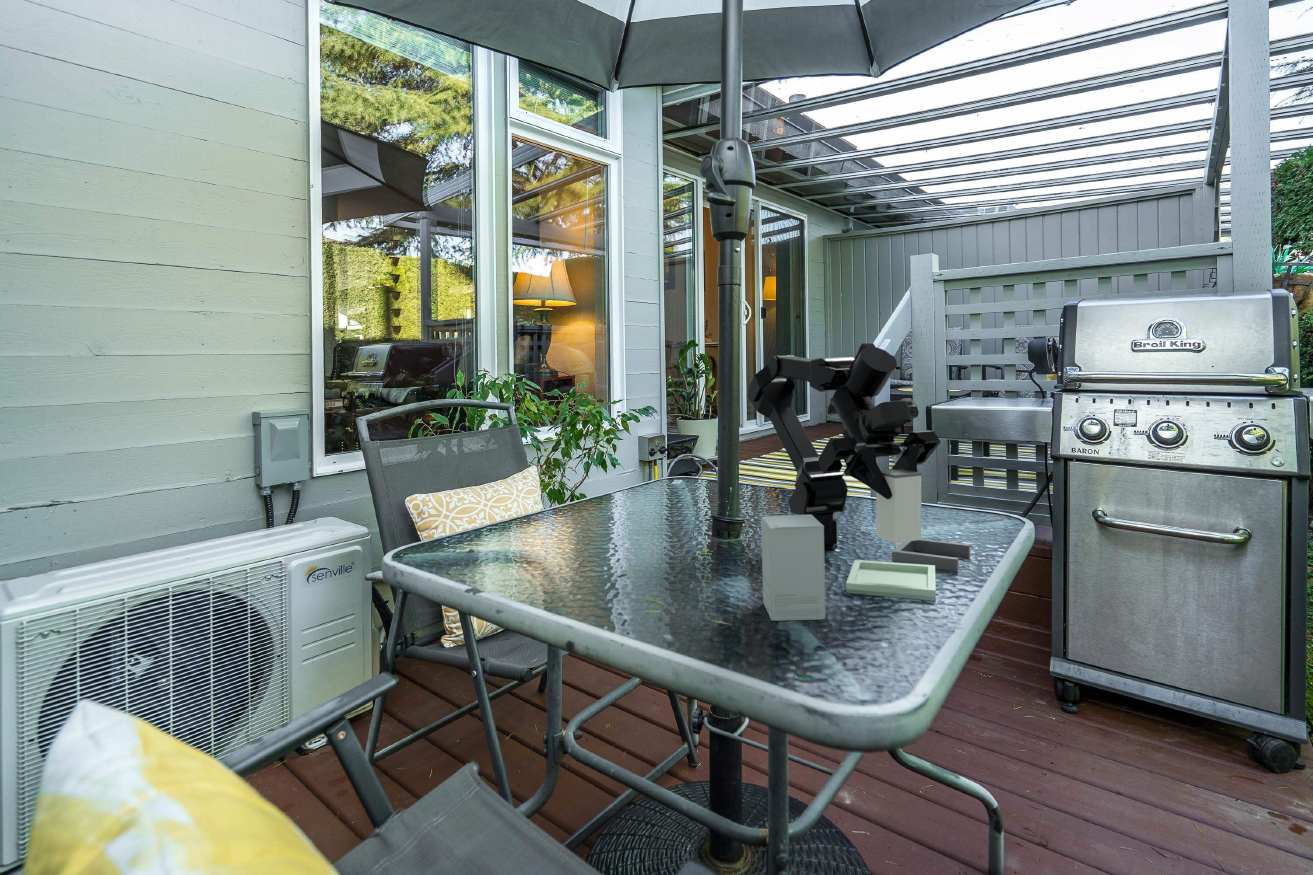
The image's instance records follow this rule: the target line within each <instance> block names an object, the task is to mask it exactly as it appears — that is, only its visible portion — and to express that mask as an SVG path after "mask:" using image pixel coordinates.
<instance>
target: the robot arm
mask: <svg viewBox="0 0 1313 875" xmlns="http://www.w3.org/2000/svg"><path fill="white" fill-rule="evenodd" d="M897 363H898V362H897V359H896V358H895V356H894V355H893V354H891V353H889V352H888V351H887V350H884V349H882V348H880V347H876V345H875V344H874V342H862V343H861V344H860V346H859V348H858V350H857V354H856V356H855V357H853V356H843V357H842V356H839V357H819V358H808V357H798V356H796V355H794V354H787V355H785V354H784V355H783V354H782V355H774V356H772V357H770V359H769V361H768V363H767V365H765V366H764V367H763V368H762V369H761V370H759V371H757V373H755V374H754V376H753V378H752V379H751V381H750V383H749V385H748V388H747V397H748V400H749V401H750V403H751V405H752V406H753V408H754V409H755V411H756V412H757V413H758V414H760V415H762V416H764V417H765V418H767V419H768V420H770V422H771V424H772V426H773V429H774V430H775V432H776V434H777V436H778V437H779V439H780V442H781V444H782V445H783V448H784V450H785V452H786V453H787V455H788V458H789V460H790V461H791V463H792V465H793V467H794V469H795V471H796V476H795V481H794V488H795V489H794V490H793V493H792V495H791V496H790V498H789V499H788V505H789V511H790V512H791V513H793V514H794V515H813V516H814V517H815V518H816V519H817V520H818V521H819V522H820V523H821V524H822V525H823V526H824V550H834V548H835V547H836V545H837V544H838V542H839V537H840V536H839V535H840V532H839V526H840V524H839V519H838V518H836V513H843V512H844V510H845V505H846V499H847V496H848V490H849V489H848V484H847V483H846V480H845V478H844V476H846V477H847V476H850V477H852V478H853V479H855V480H856V481H859V482H860V483H862V484H864V485H866V486H867V487H869V488H870V489H872V490H873V491H874V492H875V493H876V492H877V493H879V494H880V495H881V496H883V497H884V498H886V499H890V498H891V497H892V493H891V490H890V488H889V486H888V484H887V482H886V480H885V478H884V476H883V474H882V472H881V471H882V470H881V469H880V467H879V465H878V462H877V459H878V458H889V457H890V458H891V459H892V461H893V462H894V464H893V466H892V467H891V470H894V469H905V470H910V471H915V472H918V466H919V465H922V464H924V463H926V462H927V461H928V459H929V458H930V457H931V455H932V454H933V453H934V452H935V451H936V449H937V448H938V446H939V445H940V444H941V443H942V442H941V440H940V438H939V437H938V435H937V433H936V432H935V431H934V430H919V431H918V430H917V431H910V432H909V434H907V435H906V437H905V439H904V440H903V441H900V440H896V441H895V437H899V436H900V434H901V432H902V431H901V429H900V428H901V427H902V426H904V425H906V424H909V423H911V422H913V420H915V419H916V418H918V416H919V414H920V412H919V408H918V405H917V404H916V403H915V401H914V400H913V399H912V398H911V397H910V398H907V397H906V398H902V399H900V400H893V401H892V400H890V401H883V402H880V403H878V404H877V405H875V404H874V402H873V400H872V399H871V398H872V397H873V398H874V397H877V396H879V395H880V394H881V392H882V390H883V389H884V388H885V386H886V384H887V383H888V381H889V379H890V378H891V376H892V375H893V373H894V372H895V370H896V368H897V366H898V364H897ZM777 377H778V378H777ZM785 377H786V378H785ZM797 380H800V381H805V382H808V383H809V387H811V388H812V389H814V390H816V391H817V392H820V393H825V392H834V393H833V396H832V397H831V398H830V399H829V404H828V406H827V414H828V415H837V416H838V417H839V419H840V422H841V424H842V425H843V427H844V430H843V432H842V437H832V438H831V437H830V438H829V439H828V441H827V443H826V445H825V446H824V448H823V449H822V452H821V453H820V455H819V454H818V452H817V450H816V447H815V446H814V445H813V443H812V441H811V439H810V437H809V436H808V434H807V432H806V430H805V428H804V426H803V425H802V423H801V421H800V419H799V417H798V416H797V414H796V411H795V410H794V408H793V404H792V403H793V399H794V393H795V391H796V389H797V388H798V383H797ZM842 461H844V464H845V465H846V467H845V469H844V471H843V472H842V471H841V470H842V468H843V463H842Z"/></svg>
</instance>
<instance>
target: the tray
mask: <svg viewBox="0 0 1313 875" xmlns="http://www.w3.org/2000/svg"><path fill="white" fill-rule="evenodd" d="M936 587H937V586H936V569H935V565H922V564H908V563H893V562H892V561H891V562H890V561H877V560H875V561H874V560H863V559H862V560H861V559H854V561H853V563H852V566H851V569H850V571H849V573H848V577H847V580H846V583H845V590H846V591H845V593H846V594H853V595H863V596H864V595H866V596H867V595H868V596H878V597H887V598H898V599H910V600H919V601H920V600H921V601H933V602H936V601H937V599H936V598H937V596H936V595H937V593H936V592H937V590H936Z"/></svg>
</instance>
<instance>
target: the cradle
mask: <svg viewBox="0 0 1313 875" xmlns="http://www.w3.org/2000/svg"><path fill="white" fill-rule="evenodd" d="M914 551H915V552H914ZM921 552H922V553H921ZM930 553H931V554H930ZM891 556H892V557H891V558H892V560H891V562H893V563H908V564H922V565H935V570H941V571H947V572H955V573H958V572H959V571H958V570H959V568H960V566H959V564H960V563H959V562H960V558H959V557H964V558H970V557H971V543H970V544H969V543H962V542H961V543H960V542H953V541H945V540H944V541H943V540H942V541H941V540H934V539H925V538H921V540H915V541H908V542H901V543H900V544H899V545H898V546H897V547H895V549H893V550H892V551H891ZM952 556H955V557H952Z"/></svg>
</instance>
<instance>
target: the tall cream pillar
mask: <svg viewBox="0 0 1313 875" xmlns="http://www.w3.org/2000/svg"><path fill="white" fill-rule="evenodd" d="M881 472H882V474H883V476H884V478H885V480H886V482H887V484H888V486H889V488H890V490H891V493H892V497H891V498H890V499H886V498H884V497H883V496H881V495H880V494H879V493H877V492H876V491H875V494H876V495H875V501H876V503H875V504H876V506H875V510H876V511H875V514H876V515H875V516H876V518H875V519H876V520H875V522H876V523H875V524H876V529H875V531H876V537H878V538H880V539H883V540H886V541H889V542H891V543H894V544H899V543H900V544H901V543H903V542H908V541H915V540H921V539H922V472H915V471H910V470H905V469H894V470H892V469H886V470H885V469H884V470H881Z"/></svg>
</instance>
